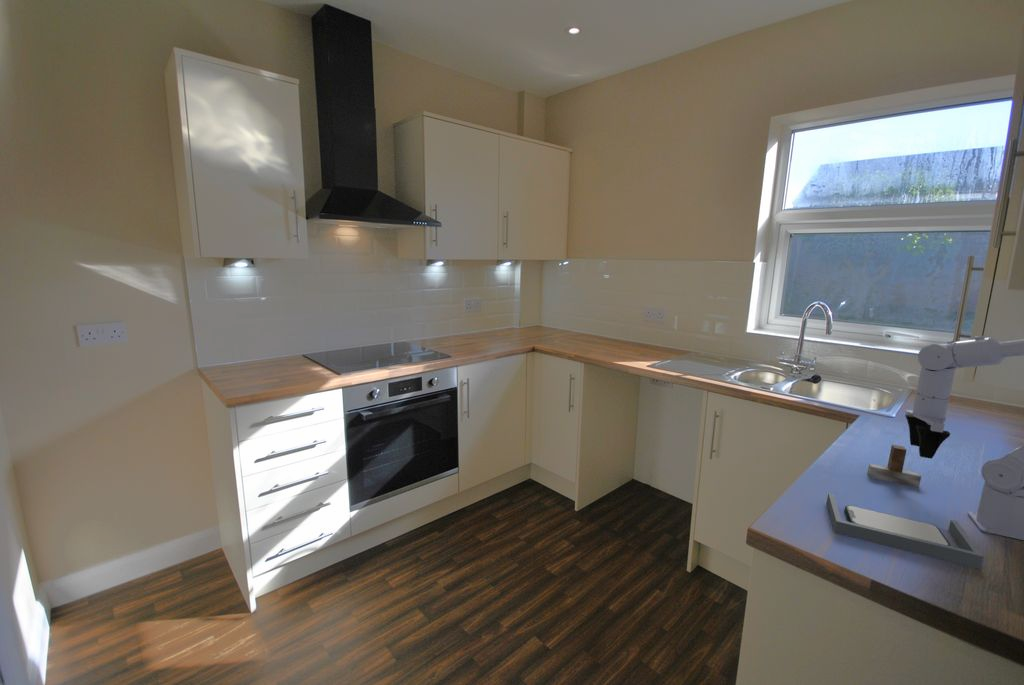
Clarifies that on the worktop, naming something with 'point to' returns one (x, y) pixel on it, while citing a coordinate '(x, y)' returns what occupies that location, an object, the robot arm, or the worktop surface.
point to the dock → (910, 539)
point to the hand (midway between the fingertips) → (920, 451)
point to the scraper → (895, 469)
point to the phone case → (895, 524)
